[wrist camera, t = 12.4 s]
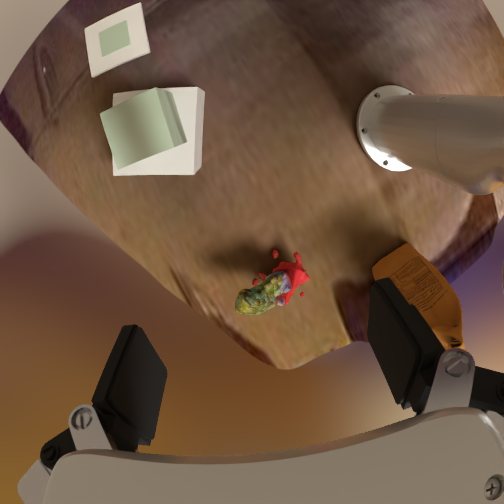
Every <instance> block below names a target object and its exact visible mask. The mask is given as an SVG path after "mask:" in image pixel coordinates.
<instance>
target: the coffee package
mask: <svg viewBox="0 0 504 504" xmlns="http://www.w3.org/2000/svg"><path fill="white" fill-rule="evenodd" d="M372 273H373V276H374V279H375V280H379V279H383V278H386V277H389V278H390V279H391V280H392V281H393V283H394V284H395V285H396V287H397V288H398V289H399V291H400V292H401V293H402V295H403V296H404V297H405V299H406V300H407V301H408V303H409V304H412V305H414V306H415V307H416V308H417V309H418V311H419V312H420V313H421V315H422V316H423V318H424V319H425V320H426V322H427V323H428V325H429V326H430V328H431V329H432V331H433V332H434V333H435V335H436V336H437V338H438V339H439V341H440V342H441V344H442V345H443V347H444V348H445V350H446V351H447V350H448V349H452V348H461V349H464V350H466V348H465V345H464V341H463V337H462V309H461V304H460V301H459V298H458V297H457V295H456V293H455V292H454V290H453V288H452V287H451V286H450V284H449V283H448V282H447V280H446V279H445V278H444V277H443V276H442V274H441V273H440V272H439V271H438V269H436V268H435V267H434V266H433V265H432V264H431V263H430V262H429V261H428V260H427V259H426V258H424V257H423V256H422V255H421V254H420V253H418V252H417V251H416V250H415V249H414V248H413V247H412V246H411V245H410V244H409V243H406V244H404V245H402V246H401V247H399V248H398V249H396V250H394V251H393V252H392V253H390V254H389V255H387V256H386V257H384V258H382V259H381V260H379V261H378V262H377V263H376V264H375V265H374V266H373V267H372Z"/></svg>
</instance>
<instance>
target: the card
mask: <svg viewBox="0 0 504 504" xmlns="http://www.w3.org/2000/svg"><path fill="white" fill-rule="evenodd" d="M85 38H86V45H87V52H88V59H89V65H90V71H91V77H92V78H94V77H96V76H98V75H100V74H102V73H104V72H106V71H108V70H110V69H113V68H115V67H117V66H119V65H121V64H124V63H126V62H128V61H131V60H133V59H136V58H138V57H141V56H143V55H146V54H148V53H151V52H150V47H149V42H148V37H147V32H146V26H145V21H144V15H143V10H142V4H141V3H137V4H135V5H132V6H130V7H128V8H125V9H123V10H121V11H119V12H116V13H114V14H112V15H110V16H108V17H106V18H104V19H102V20H100V21H98V22H96V23H94V24H92V25H91V26H89V27H87V28H85Z"/></svg>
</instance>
